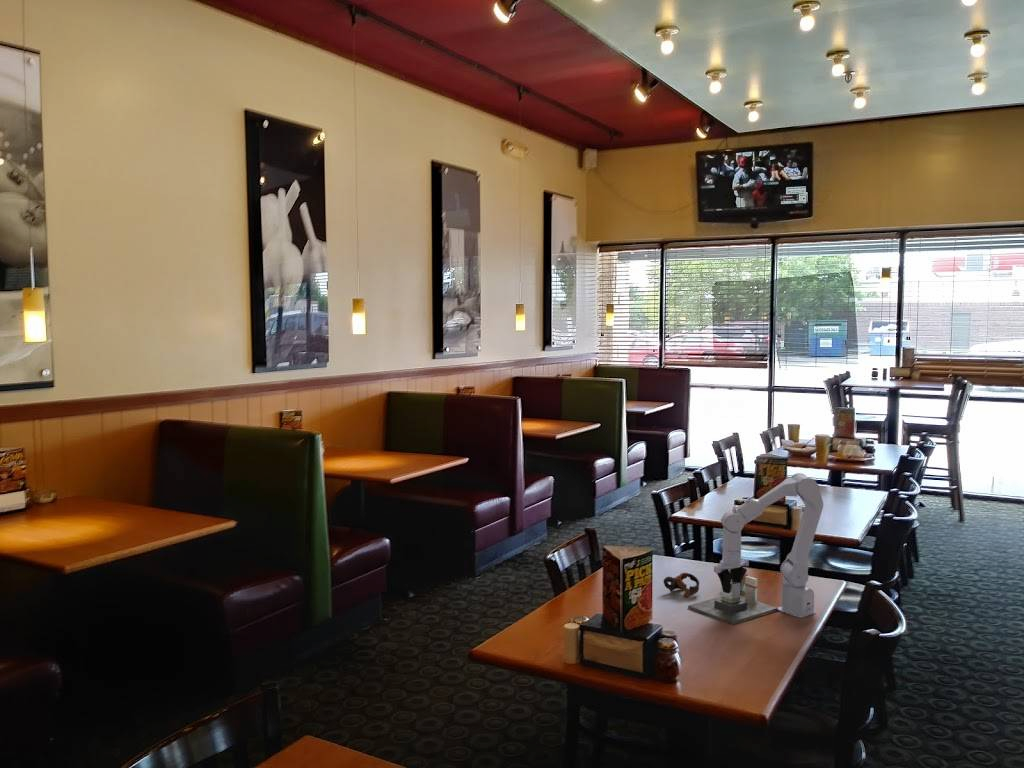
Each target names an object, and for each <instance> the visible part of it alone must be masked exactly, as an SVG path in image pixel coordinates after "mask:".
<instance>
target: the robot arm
mask: <svg viewBox="0 0 1024 768" xmlns="http://www.w3.org/2000/svg"><path fill="white" fill-rule="evenodd" d="M798 496H799V498H800V500H801V501H802V502H803V504H804V507H803V512H802V514H801V519H800V522H799V525H798V528H797V531H796V534H795V539H794V541H793V545H792V548H791V551H790V552H789V553H788V554H787V555H786V558H785V560H784V561H783V562H782V563H781V565H780V569H779V570H780V573H781V576H783V578H782V580H781V606H778V607H777V608H778V610H779V612H781V613H784V612H785V613H784V614H787V615H790V616H794V617H796V618H799V619H801V618H804V617H807V616H811V615H814V614H816V611H815V609H814V608H815V593H814V590H813V589H812V588H809V586H807V583H808V581H809V573H808V571H809V559H808V558H809V555H810V551H811V548H812V546H813V542H814V539H815V534H816V532H817V530H818V529H817V528H818V525H819V521H820V519H821V515H822V512H823V508H824V500H823V497H822V494H821V487H820V485H819V484H818V483H817V482H816V481H815V479H813V478H811V477H809V476H806V474H804V473H800V472H799V473H798V472H797V473H795V474H792V476H790V477H787V478H785V479H784V480H783V481H782V482H780V483H779V484H777V485H776V486H775V487H773V488H771V490H769V491H767V492H766V493H765V494H763V495H762V496H760V497H759V498H757V499H756V498H750V499H749V498H747V499H745V500H744V503H742V504H741V505H739V506H737V507H733V508H732V509H731V510H729V511H726V512H725V513H723V516H721V519H720V523H721V525H722V528H723V529H722V530H723V531H722V559H721V560H719V563H717V564H716V565H713V572H714V573H716V574H717V576H718V579H719V581H720V584H721V590H722V589H723V592H725V593H729V592H730V585H731V580H734V581H737V582H740V585H741V581H742V579H743V577H744V575H745V573H746V574H747V568H746V567H749V566H750V565H749V563H750V561H749V559H746V558H742V530H743V529H744V526H745V525H746V524H748V523H750V522H751V521H753V520H754V519H756V518H758V517H759V516H761V515H763V513H764V509H765V508H767V507H769V506H770V505H772V504H774V503H776V502H778V501H779V500H781V499H783V498H785V497H798ZM729 570H730V572H731V573H730V572H729Z"/></svg>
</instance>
